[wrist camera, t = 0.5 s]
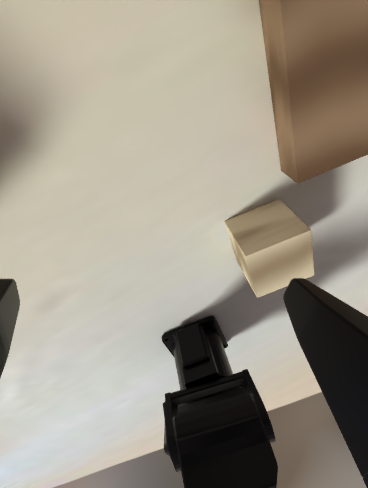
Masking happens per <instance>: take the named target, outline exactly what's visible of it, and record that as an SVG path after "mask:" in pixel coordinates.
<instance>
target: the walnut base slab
mask: <svg viewBox="0 0 368 488" xmlns="http://www.w3.org/2000/svg"><path fill="white" fill-rule="evenodd" d="M259 4H260V12H261V20H262V27H263V35H264V42H265V50H266V58H267V65H268V73H269V80H270V88H271V96H272V103H273V111H274V118H275V126H276V134H277V141H278V149H279V156H280V164H281V171H282V172H284V173H285V174H286V175H287V176H289V177H290V178H291V179H293V180H294V181H295V182H296V183H300V182H303V181H305V180H307V179H310V178H312V177H315V176H317V175H319V174H322V173H324V172H327V171H329V170H332V169H334V168H336V167H339V166H341V165H344V164H346V163H348V162H351V161H353V160H356V159H358V158H360V157H363V156H365V155H368V0H259Z"/></svg>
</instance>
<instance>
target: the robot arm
mask: <svg viewBox="0 0 368 488" xmlns="http://www.w3.org/2000/svg"><path fill="white" fill-rule="evenodd" d="M283 299H284V303H285V306H286V308H287V311H288V314H289V317H290V320H291V323H292V325H293V328H294V331H295V334H296V336H297V339H298V341H299V343H300V346H301V348H302V350H303V352H304V354H305V356H306V358H307V361H308V363H309V365H310V367H311V369H312V371H313V373H314V375H315V378H316V380H317V382H318V384H319V386H320V388H321V390H322V392H323V394H324V397H325V399H326V401H327V403H328V405H329V407H330V409H331V412H332V413H333V416H334V418H335V420H336V422H337V424H338V426H339V429H340V431H341V433H342V435H343V437H344V439H345V441H346V444H347V446H348V448H349V450H350V452H351V454H352V456H353V458H354V461H355V463H356V464H357V467H358V469H359V471H360V473H361V475H362V477H363V480H364V482H365V484H366V486H367V488H368V316H366V315H364V314H363V313H361V312H359V311H358V310H356V309H354V308H353V307H351V306H349V305H348V304H346V303H344V302H343V301H341V300H339V299H338V298H336V297H334V296H333V295H331V294H329V293H328V292H326V291H324V290H323V289H321V288H319V287H318V286H316V285H314V284H313V283H311V282H309V281H308V280H306V279H304V278H293V279H292V280H291V281H290V283H289V285H288V287H287V289H286V291H285V293H284V296H283ZM19 306H20V299H19V294H18V290H17V285H16V282H15V280H14V279H0V377H1V375H2V372H3V369H4V366H5V363H6V360H7V357H8V354H9V350H10V346H11V341H12V337H13V333H14V328H15V324H16V320H17V315H18V311H19ZM162 342H163V343H164V344H165V346H166V347H167V348H168V350H169V351H170V352H171V354H172V355H173V356H174V358H175V363H176V368H177V373H178V379H179V384H180V391H176V392H173V393H166V394H165V402H164V403H163V409H164V417H165V433H164V450H165V453H166V454H167V455H169V456H170V457H171V460H172V462H173V465H174V468H175V470H176V472H180V471H181V472H182V477H183V483H184V488H276V485H277V472H278V466H277V461H276V459H275V456H274V453H273V450H272V447H271V444H270V443H272V442H275V436H274V432H273V428H272V425H271V422H270V419H269V417H268V414H267V411H266V409H265V406H264V404H263V402H262V400H261V397H260V395H259V393H258V391H257V389H256V387H255V385H254V382H253V380H252V378H251V376H250V374H249V372H248V370H247V369H246V370H242V372H239V373H236V374H233V373H232V370H231V367H230V364H229V361H228V358H227V356H226V353H225V350H224V348H226V347H227V346H228V344H227V342H226V339H225V337H224V335H223V333H222V331H221V329H220V327H219V325H218V322H217V320H216V318H215V317H214V316H210V317H208V318H205V319H202V320H200V321H197V322H195V323H192V324H190V325H187V326H185V327H182V328H180V329H177V330H175V331H172V332H170V333H167V334H165V335H163V336H162Z"/></svg>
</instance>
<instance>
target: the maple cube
mask: <svg viewBox="0 0 368 488" xmlns="http://www.w3.org/2000/svg"><path fill="white" fill-rule="evenodd" d="M224 222H225V225H226V228H227V231H228V234H229V237H230V241H231V244H232V247H233V250H234V253H235V257H236V260H237V262H238V264H239V266H240V267H241V269H242V271H243V273H244V275H245V277H246V278H247V280H248V282H249V284H250V286H251V287H252V289H253V291H254V293H255V295H256V297H257V298H258V297H261V296H264V295H266V294H269V293H271V292H274V291H276V290H279V289H281V288H284V287H286V286H288V285H289V283H290V281H291V280H292V279H293V278H304V279H306V278H309V277H312V276H314V264H313V249H312V234H311V229H310V228H309V227H308V226H307V225H306V224H305V223H304V222H303V221H302V220H301V219H300V218H298V217H297V216H296V215H295V214H294V213H293V212H292V211H291V210H290V209H289V208H288V207H287V206H286V205H285V204H284V203H283V202H282V201H281V200H280V199H277V200H274V201H272V202H270V203H267V204H265V205H262V206H260V207H257V208H255V209H253V210H250V211H248V212H245V213H243V214H241V215H238V216H236V217H233V218H231V219H228V220H226V221H224Z"/></svg>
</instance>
